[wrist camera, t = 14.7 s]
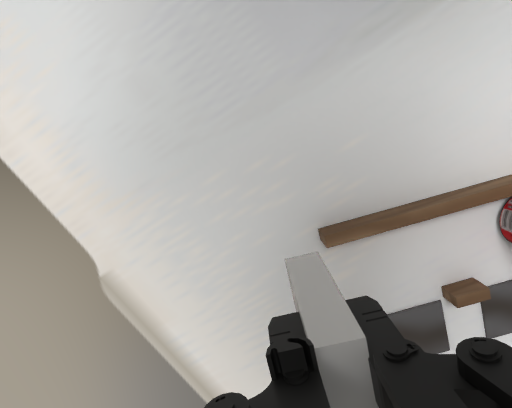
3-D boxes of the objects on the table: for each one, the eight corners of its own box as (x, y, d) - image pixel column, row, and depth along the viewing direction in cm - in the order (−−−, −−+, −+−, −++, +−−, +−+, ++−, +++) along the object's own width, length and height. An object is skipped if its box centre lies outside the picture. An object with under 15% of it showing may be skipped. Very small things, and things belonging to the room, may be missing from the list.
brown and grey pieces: (318, 228, 43) (328, 241, 38) (577, 155, 43) (622, 159, 38) (354, 375, 47) (368, 403, 42) (591, 308, 47) (632, 329, 42)
